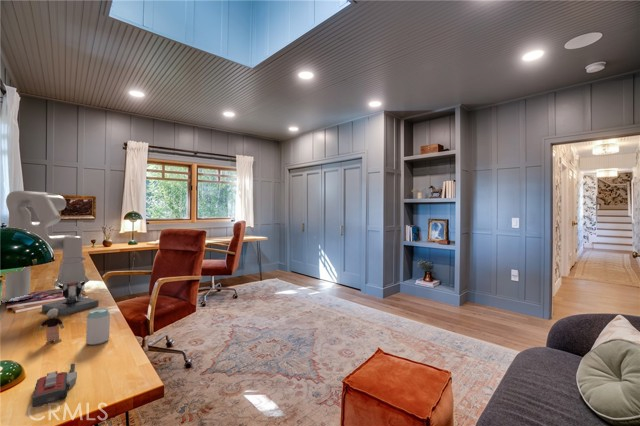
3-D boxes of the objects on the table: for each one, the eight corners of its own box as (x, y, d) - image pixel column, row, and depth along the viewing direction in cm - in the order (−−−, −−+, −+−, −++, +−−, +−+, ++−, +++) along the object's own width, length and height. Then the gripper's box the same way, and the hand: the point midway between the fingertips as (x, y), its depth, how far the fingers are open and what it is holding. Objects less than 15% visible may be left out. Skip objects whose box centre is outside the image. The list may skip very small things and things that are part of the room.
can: (110, 342, 111) (111, 311, 111) (87, 347, 106) (87, 315, 106) (107, 336, 116) (108, 306, 116) (85, 341, 112) (86, 310, 112)
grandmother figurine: (66, 338, 114) (67, 306, 113) (62, 342, 110) (63, 309, 110) (40, 341, 110) (41, 308, 110) (36, 346, 107) (37, 311, 107)
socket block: (42, 311, 143) (42, 304, 143) (78, 301, 157) (79, 296, 157) (62, 315, 137) (62, 309, 137) (98, 305, 152) (98, 300, 152)
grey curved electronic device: (65, 296, 167) (73, 279, 169) (75, 297, 170) (83, 280, 172) (66, 303, 155) (75, 284, 157) (77, 304, 158) (85, 286, 160)
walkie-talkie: (75, 399, 78) (77, 367, 94) (75, 383, 78) (77, 353, 94) (29, 412, 73) (39, 376, 88) (30, 395, 73) (39, 362, 88)
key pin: (65, 301, 147) (65, 282, 147) (75, 300, 150) (76, 280, 150) (67, 303, 144) (67, 283, 144) (77, 301, 147) (77, 281, 147)
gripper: (90, 257, 156) (90, 292, 156) (48, 261, 143) (47, 298, 143) (94, 259, 151) (94, 294, 151) (51, 263, 138) (50, 301, 138)
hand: (71, 296), depth 147 cm, fingers closed on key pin, 4 cm apart
